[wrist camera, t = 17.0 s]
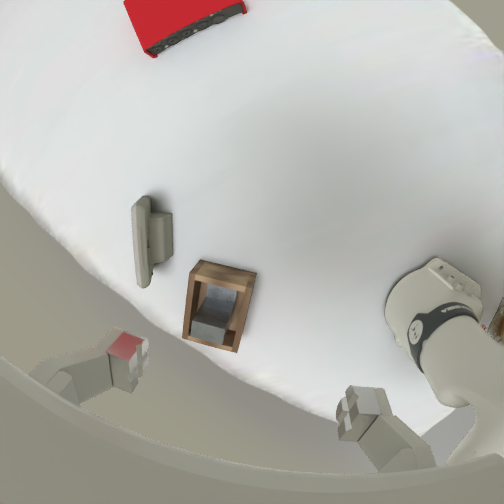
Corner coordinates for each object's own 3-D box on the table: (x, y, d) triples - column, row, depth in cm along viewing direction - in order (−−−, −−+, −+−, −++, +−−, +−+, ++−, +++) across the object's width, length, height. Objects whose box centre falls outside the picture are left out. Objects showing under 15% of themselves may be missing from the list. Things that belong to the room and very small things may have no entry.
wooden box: (256, 273, 49) (252, 288, 43) (242, 333, 53) (237, 353, 48) (200, 259, 50) (189, 272, 44) (191, 320, 54) (182, 338, 48)
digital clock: (143, 191, 47) (115, 199, 38) (182, 201, 47) (160, 210, 38) (134, 262, 51) (109, 281, 43) (170, 274, 51) (149, 296, 43)
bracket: (239, 285, 49) (228, 315, 40) (231, 323, 52) (219, 356, 42) (210, 278, 49) (194, 306, 40) (204, 316, 52) (188, 348, 43)
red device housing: (154, 59, 39) (142, 50, 35) (133, 11, 36) (121, 2, 31) (247, 13, 35) (243, 0, 31) (216, -31, 32) (210, -45, 27)
